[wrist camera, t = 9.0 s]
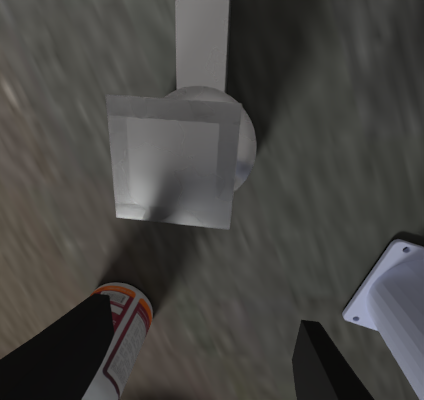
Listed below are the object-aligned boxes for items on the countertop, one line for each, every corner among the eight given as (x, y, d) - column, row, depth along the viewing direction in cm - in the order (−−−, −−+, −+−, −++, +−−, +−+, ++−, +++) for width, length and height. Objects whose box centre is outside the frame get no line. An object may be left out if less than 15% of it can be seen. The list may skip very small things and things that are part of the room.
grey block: (242, 103, 14) (241, 103, 8) (234, 185, 16) (229, 229, 10) (159, 98, 14) (105, 94, 9) (160, 178, 16) (116, 217, 10)
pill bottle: (80, 300, 24) (-46, 453, 13) (119, 267, 22) (5, 417, 11) (128, 339, 25) (45, 507, 15) (168, 311, 23) (106, 483, 13)
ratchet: (249, 194, 18) (252, 223, 14) (156, 187, 19) (130, 213, 14) (289, -202, 11) (318, -398, 7) (139, -190, 12) (78, -363, 7)
